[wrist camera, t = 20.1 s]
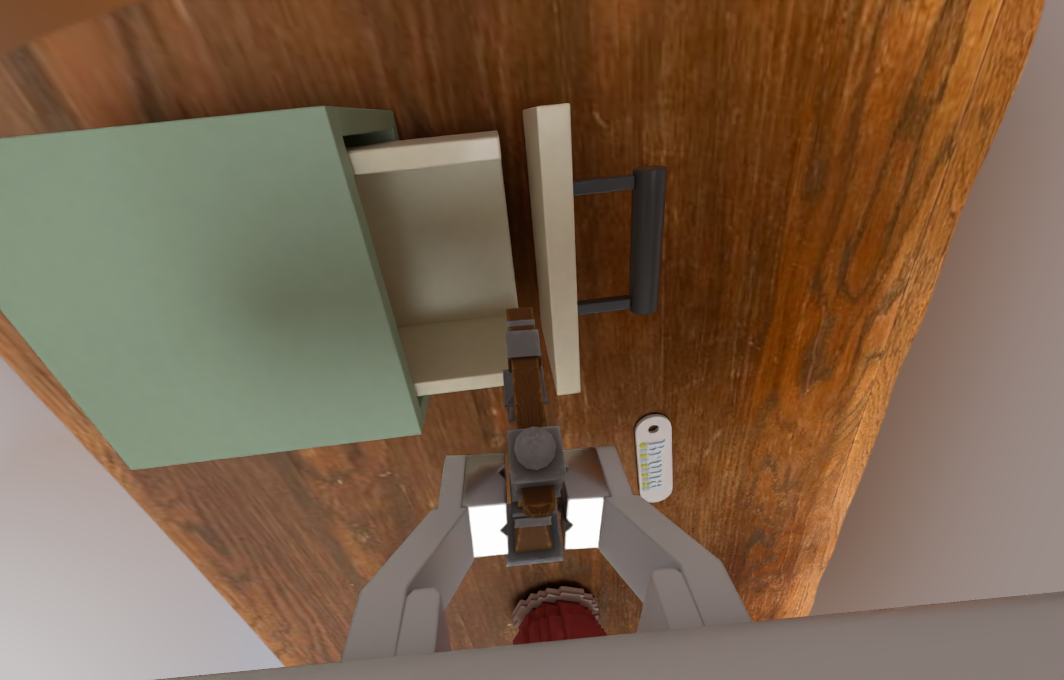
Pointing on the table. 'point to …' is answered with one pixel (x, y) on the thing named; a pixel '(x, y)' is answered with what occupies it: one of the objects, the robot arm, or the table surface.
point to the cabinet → (207, 283)
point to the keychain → (654, 457)
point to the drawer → (492, 247)
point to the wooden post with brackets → (530, 449)
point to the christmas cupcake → (556, 616)
